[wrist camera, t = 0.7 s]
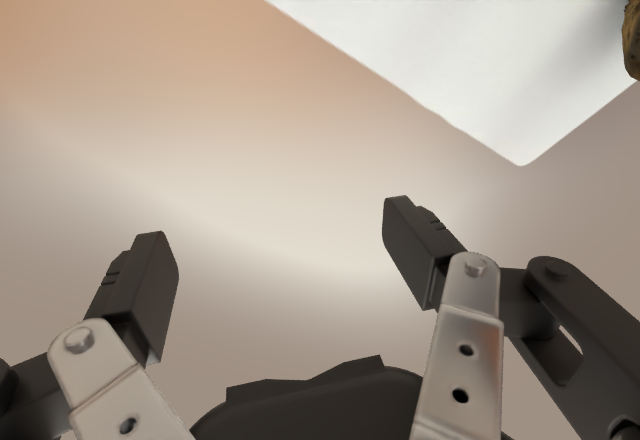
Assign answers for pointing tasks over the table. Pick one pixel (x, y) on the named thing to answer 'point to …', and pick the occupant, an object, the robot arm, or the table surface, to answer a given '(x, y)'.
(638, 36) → the pottery vessel
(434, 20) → the table surface
